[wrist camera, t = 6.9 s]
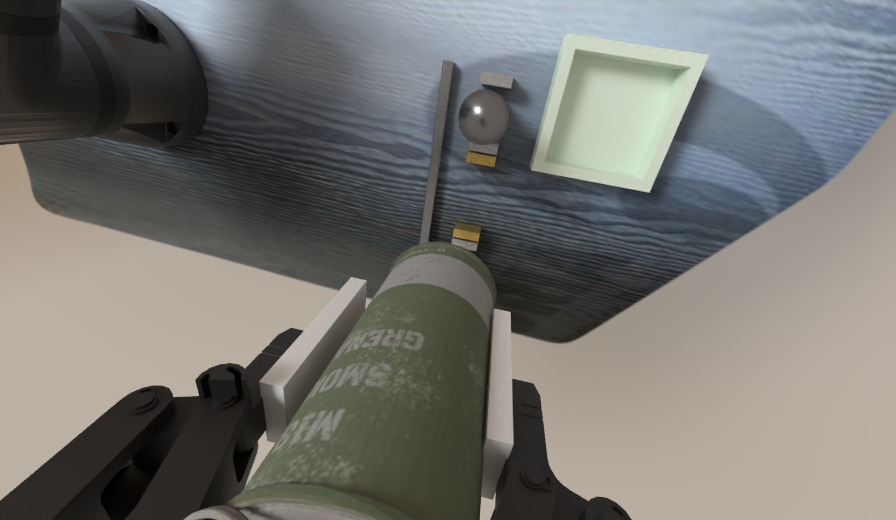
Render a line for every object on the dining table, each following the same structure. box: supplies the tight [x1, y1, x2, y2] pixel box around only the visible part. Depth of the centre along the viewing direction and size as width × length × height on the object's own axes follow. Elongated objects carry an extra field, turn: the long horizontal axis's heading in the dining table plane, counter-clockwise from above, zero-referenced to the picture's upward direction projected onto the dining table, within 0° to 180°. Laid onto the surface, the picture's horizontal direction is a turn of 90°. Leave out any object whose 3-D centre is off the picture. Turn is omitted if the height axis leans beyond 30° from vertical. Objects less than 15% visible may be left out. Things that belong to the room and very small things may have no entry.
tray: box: [530, 33, 709, 193], centre depth 32 cm, size 12×12×3 cm
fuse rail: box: [420, 60, 514, 254], centre depth 33 cm, size 7×25×11 cm, turn 171°
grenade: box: [184, 242, 496, 520], centre depth 11 cm, size 6×6×15 cm
